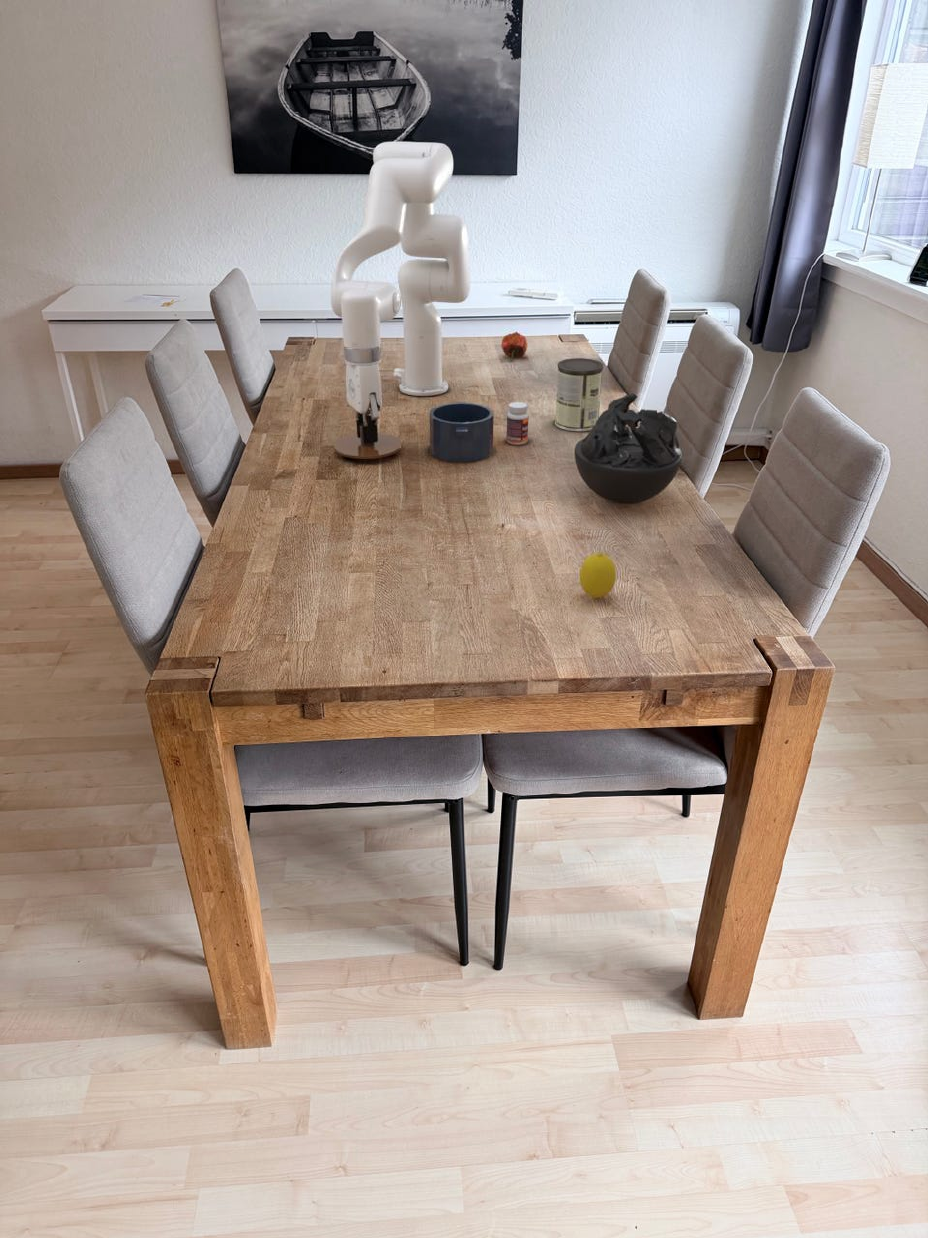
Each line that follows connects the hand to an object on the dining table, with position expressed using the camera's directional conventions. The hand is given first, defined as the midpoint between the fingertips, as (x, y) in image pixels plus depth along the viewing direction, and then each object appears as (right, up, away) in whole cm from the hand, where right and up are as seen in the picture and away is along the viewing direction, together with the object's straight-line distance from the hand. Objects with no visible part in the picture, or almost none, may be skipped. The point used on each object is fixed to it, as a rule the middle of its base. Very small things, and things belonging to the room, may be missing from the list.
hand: (367, 438), depth 194 cm
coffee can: (+47, +7, +17) cm, 51 cm away
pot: (+20, -2, +3) cm, 20 cm away
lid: (0, -1, +1) cm, 2 cm away
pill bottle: (+33, +1, +8) cm, 33 cm away
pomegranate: (+35, +36, +65) cm, 82 cm away
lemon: (+42, -36, -52) cm, 75 cm away
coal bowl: (+52, -16, -19) cm, 57 cm away
